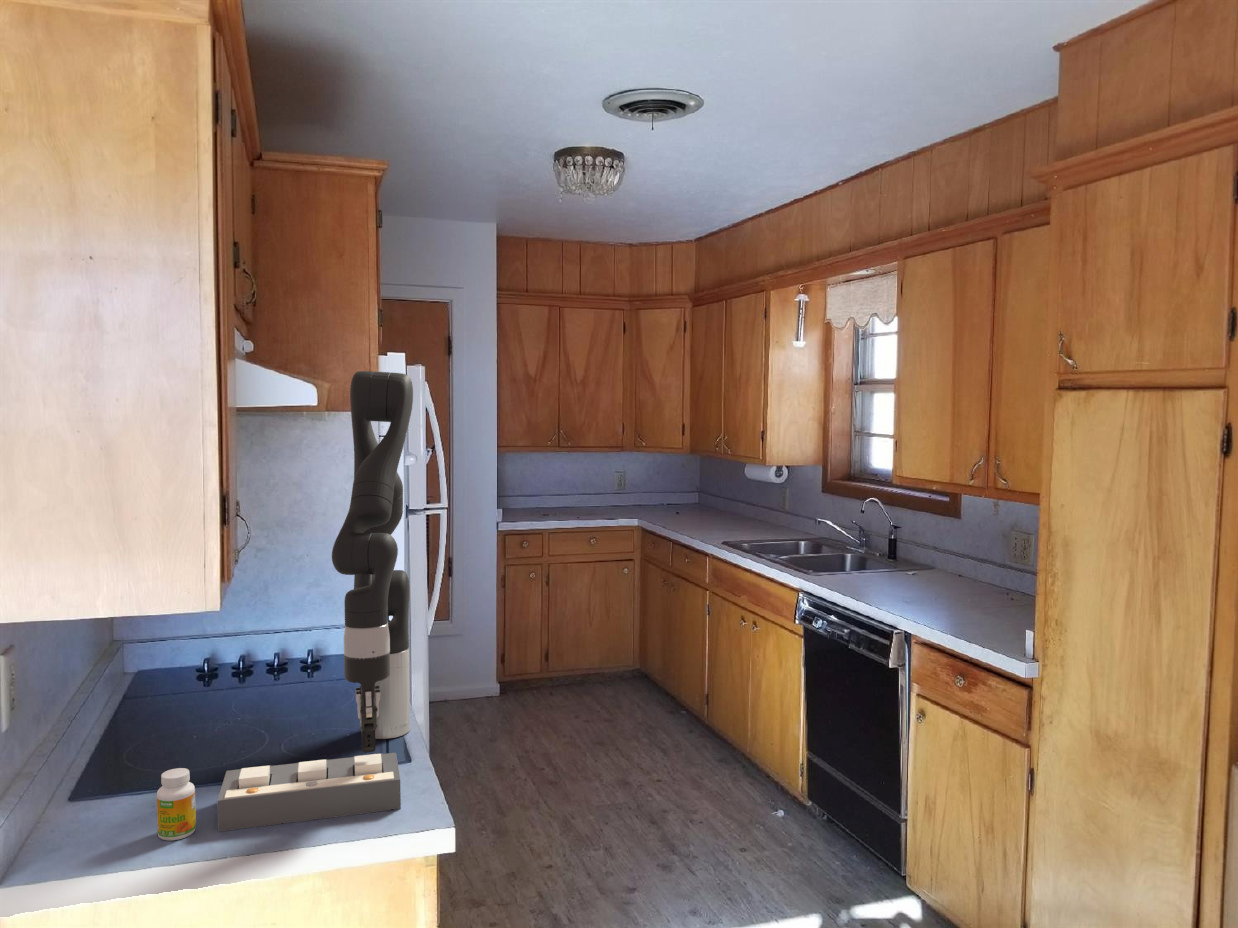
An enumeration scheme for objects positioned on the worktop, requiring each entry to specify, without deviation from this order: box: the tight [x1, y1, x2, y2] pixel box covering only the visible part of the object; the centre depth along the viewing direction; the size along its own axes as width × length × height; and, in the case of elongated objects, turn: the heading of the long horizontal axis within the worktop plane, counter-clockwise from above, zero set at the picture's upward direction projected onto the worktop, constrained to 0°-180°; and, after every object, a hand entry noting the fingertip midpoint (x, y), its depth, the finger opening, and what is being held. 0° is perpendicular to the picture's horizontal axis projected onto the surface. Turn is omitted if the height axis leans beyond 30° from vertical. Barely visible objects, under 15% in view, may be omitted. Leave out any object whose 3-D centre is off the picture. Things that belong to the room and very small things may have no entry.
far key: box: [353, 753, 382, 776], centre depth 155 cm, size 4×4×3 cm
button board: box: [216, 752, 402, 833], centre depth 152 cm, size 28×12×5 cm, turn 107°
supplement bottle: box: [156, 767, 197, 842], centre depth 142 cm, size 5×5×10 cm
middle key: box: [298, 759, 327, 782], centre depth 152 cm, size 4×4×3 cm
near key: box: [239, 764, 271, 789], centre depth 149 cm, size 4×4×3 cm
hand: (368, 750), depth 154 cm, fingers closed
